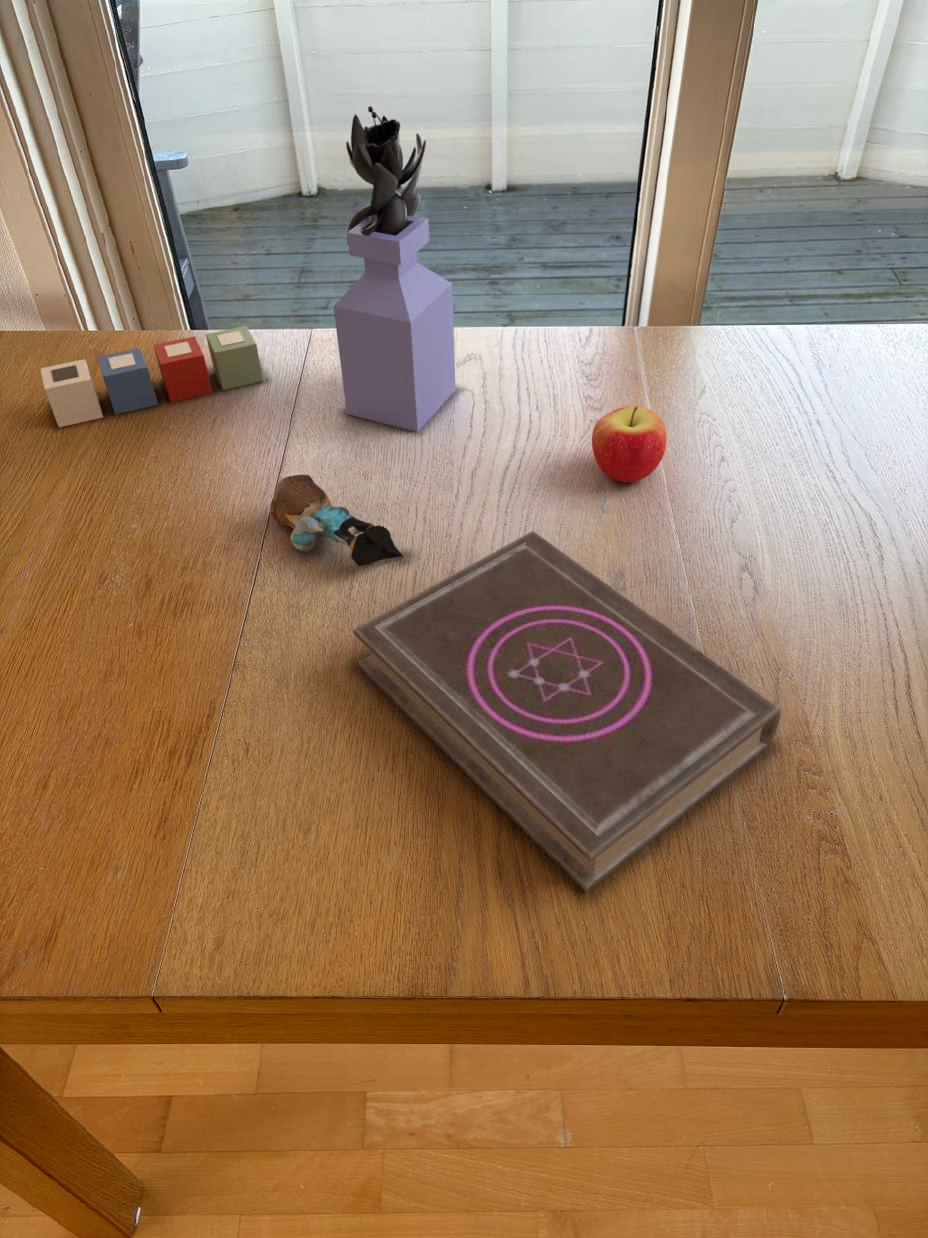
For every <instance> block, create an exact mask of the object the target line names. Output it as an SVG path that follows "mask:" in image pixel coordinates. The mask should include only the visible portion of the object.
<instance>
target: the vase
mask: <svg viewBox="0 0 928 1238" xmlns="http://www.w3.org/2000/svg"><path fill="white" fill-rule="evenodd" d="M367 108H368V109H367V111H368V113H370V114H371V118H372V119H373V122H374V124H373V125H371V126H369V127H368V126H363V125H362V123H361V120H360V119H359V118H360V117H359V116H358V115H357V114H356V113H355V114H354V116H353V118H352V124H351V130H350V131H351V132H350V143H349V140H347V141H346V143H345V147H346V151H347V154H348V161H349V164H350V165H351V167H352V168H353V169H354V170H355V172H356V175H358V176H359V177H360V178H361V179H362V180H363V181H364V182H366V183H368V184H370V185H372V192H371V194H372V195H371V200H370V203H369V204H368V205H366V206H364V207H362V208H361V209H359V210H357V212H355V214H354V215H353V216H352V218H351V220H350V222H349V224H348V226H347V227H348V229H347V233H346V238H347V239H346V243H347V245H348V251H349V252H348V253H349V256H351V257H356V258H362V259H363V263H364V271H365V272H364V273H363V274H362V275H361V277H359V279H358V280H356V281H355V283H354V284H353V285H352V286H351V287H350V288H349V289H348V290H347V291H346V292H345V293H344V294H343V295H342V296H341V298H340V299H338V301H336V303H335V304H334V305H333V314H334V322H335V323H334V324H335V328H336V337H337V346H338V347H337V348H338V354H339V360H340V361H339V362H340V369H341V378H342V384H343V395H344V402H345V403H344V404H345V410H346V411H345V412H346V415H349V416H354V417H357V418H360V419H361V418H362V419H365V420H369V421H373V422H377V423H381V424H385V425H389V426H392V427H397V428H400V429H404V430H408V431H411V432H417V433H418V432H419V431H420V430H422V429H423V427H424V426H425V425H426V424H427V422H429V420H430V419H431V418H432V417H433V416H434V415H435V414H436V413H437V411H438V410H439V409H440V408H441V407H443V405H444V404H445V403H446V401H447V400H449V398H450V397H451V396H452V395H453V394H454V392H456V390H457V389H456V388H457V387H456V359H455V358H456V356H455V355H456V354H455V327H454V326H455V325H454V295H453V294H454V293H453V283H452V282H451V281H449V280H447V279H446V278H444V277H442V276H441V275H439V274H437V273H436V272H434V271H433V270H431V269H430V268H427V267H426V266H424V265H422V264H421V263H419V261H418V260H419V259H418V252H419V251H421V249H422V248H423V247H425V245H427V244H428V243H429V242H430V225H429V224H430V223H429V218H427V217H422V216H421V217H420V216H416V212H417V210H418V209H419V207H420V203H421V198H422V197H421V194H418V193H415V191H416V189H417V187H418V184H419V181H420V177H421V174H422V169H423V166H424V165H423V164H424V156H425V152H426V149H427V140H426V139H424V141H422V137H421V136H420V134H419V133H416V134H415V139H416V146H414V147H413V149H412V152H411V155H410V156H409V159H408V161H407V163H406V164H405V166H404V156H403V150H402V147H401V144H400V141H401V140H400V139H401V137H400V136H401V123H400V121H397V120H396V119H395V118H394V119H393V118H392V119H390V120H389V119H388V118H387V117H386V116H385V114H383V116H382V117H380V116H379V115H378V114H377V112H376V111H374V108H373V107H372V106H368V107H367ZM376 118H377V119H378V122H379V123H378V124H377V123H376ZM405 184H406V185H405ZM402 185H405V187H404V188H403V186H402ZM401 188H403V190H402V192H401V194H400V192H399V191H397V190H400V189H401Z"/></svg>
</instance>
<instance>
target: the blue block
mask: <svg viewBox="0 0 928 1238" xmlns="http://www.w3.org/2000/svg"><path fill="white" fill-rule="evenodd" d="M96 358H97V360H98V365H99V369H100V371H101V372H100V373H101V376H102V379H103V382H104V384H105V385H104V386H105V388H106V391H107V394H108V398H109V400H110V403H111V406H112V410H113V413H114V415H120V414H124V413H128V412H129V413H130V412H133V411H138V410H142V409H147V408H152V407H156V406H158V405H159V402H158V399H157V396H156V392H155V388H154V385H153V381H152V378H151V375H150V371H149V368H148V365H147V363H146V359H145V355H144V354H143V351H142V348H141V347H137V348H131V349H128V350H122V351H119V352H112V353H108V354H104V355H99V356H97V357H96Z"/></svg>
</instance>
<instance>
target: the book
mask: <svg viewBox="0 0 928 1238" xmlns="http://www.w3.org/2000/svg"><path fill="white" fill-rule="evenodd" d="M352 634H353V635H354V636H355V637H356V638H357V639H358V640H359V641H360V642H361V643H362V644H364V645H365V647H367V648H368V649H369V650H370V654H369V655H368V656H366V657H364V658H363V659H360V660H359V661H358V662H357V666H358V667H359V669H361V670H362V671H363V673H364V674H366V676H368V677H369V678H370V679H371V680H372V681H373V682H374V683H375V684H376V685H377V686H378V687H379V688H380V689H381V691H383V692H384V693H385V694H386V696H388V697H389V698H390V699H391V700H392V701H393V702H394V703H395V704H396V705H397V706H398V707H399V708H400V709H401V710H402V711H403V712H404V713H405V714H406V715H407V716H408V717H409V718H410V719H411V720H412V721H413V722H414V723H415V724H416V725H417V726H418V727H419V728H420V729H421V730H422V731H423V732H424V733H425V734H426V735H428V737H429V738H430V739H431V740H432V741H433V742H434V743H435V744H436V745H437V746H438V747H440V749H441V750H442V751H443V752H445V754H446V755H447V756H449V758H450V759H451V760H452V761H453V762H454V763H455V764H456V765H457V766H459V768H460V769H461V770H462V771H463V772H464V773H466V775H467V776H469V777H470V779H471V780H473V782H474V783H475V784H476V785H477V786H479V787H480V789H481V790H482V791H484V792H485V794H486V795H488V796H489V797H490V799H491V800H493V802H495V803H496V805H498V807H500V809H502V810H503V811H504V812H505V814H506V815H508V816H509V818H510V819H512V820H513V822H514V823H516V824H517V825H518V826H519V828H521V829H522V830H523V831H524V832H525V833H526V835H528V836H529V837H530V839H532V840H533V841H534V843H536V844H537V846H539V847H540V848H541V849H542V850H543V851H544V852H545V854H547V855H548V856H549V857H550V858H551V859H552V860H553V862H555V864H557V865H558V866H559V867H560V868H561V869H562V870H563V871H564V872H565V873H566V874H567V875H568V876H569V877H570V878H571V879H572V881H574V882H575V883H576V884H577V885H578V886H579V887H580V888H581V889H582V890H583V891H584V892H585V893H587V892H589V891H590V890H592V888H594V887H595V886H596V885H598V883H600V882H601V881H602V880H604V879H606V877H607V876H609V875H610V874H611V873H612V872H614V871H615V870H616V869H618V868H619V867H620V866H621V865H623V864H624V863H625V862H626V861H627V860H629V859H630V858H632V857H633V856H634V855H635V854H636V853H637V852H638V851H640V850H642V848H644V847H645V846H646V845H647V844H649V843H651V841H652V840H653V839H655V838H656V837H657V836H659V835H660V834H661V833H663V831H664V830H666V829H668V828H669V827H670V826H671V825H672V824H674V823H675V822H676V821H677V820H679V819H680V818H681V817H682V816H684V815H685V814H686V813H687V812H689V811H690V810H691V809H692V808H693V807H695V806H696V805H697V804H698V803H700V802H701V801H703V800H704V799H705V798H706V797H707V796H709V795H710V794H711V793H712V792H714V791H715V790H717V788H719V787H720V786H721V785H722V784H724V783H725V782H726V781H727V780H728V779H730V778H731V777H732V776H733V775H735V774H736V773H737V772H738V771H740V770H741V769H742V768H743V767H745V766H746V765H747V764H748V763H749V762H751V761H752V760H754V759H755V758H756V757H757V756H758V755H760V754H761V753H762V752H763V751H764V750H766V749H767V748H768V747H770V745H771V742H772V740H773V739H774V737H775V734H776V732H777V730H778V727H779V725H780V720H781V717H782V715H781V713H782V710H781V709H782V708H781V707H779V706H778V705H777V704H775V703H774V702H773V701H771V700H769V699H768V698H767V697H765V696H764V695H763V694H762V693H760V692H758V691H757V690H756V689H755V688H753V687H752V686H750V685H749V684H747V683H746V682H744V681H743V680H742V679H740V678H739V677H738V676H736V675H735V674H733V673H732V672H730V670H728V669H726V668H725V667H724V666H722V665H721V664H720V663H718V662H717V661H715V660H714V659H713V658H711V657H710V656H709V655H707V654H706V653H704V652H703V651H701V650H700V649H699V648H698V647H696V646H695V645H693V644H692V643H690V642H689V641H687V640H686V639H685V638H683V637H682V636H680V635H679V634H678V633H676V631H673V630H672V628H669V627H668V626H667V625H666V624H664V623H662V622H661V621H659V620H658V618H657V619H656V617H654V616H652V615H651V614H650V613H648V612H647V611H646V610H644V609H643V608H642V607H640V605H638V604H636V603H635V602H633V601H632V600H631V599H629V598H628V597H626V596H625V595H624V594H622V593H621V592H619V591H618V590H617V589H615V588H614V587H613V586H611V585H610V584H608V583H607V582H605V581H604V580H602V579H601V578H600V577H599V576H597V575H595V574H594V573H593V572H592V571H590V570H588V569H587V568H586V567H585V566H583V565H582V564H580V563H579V562H578V561H576V560H575V559H573V558H572V557H571V556H570V555H568V554H567V553H565V552H564V551H562V550H561V549H559V548H558V547H557V546H555V545H554V544H552V543H551V542H550V541H549V540H547V539H546V538H544V537H543V536H541V534H539V533H538V532H536V531H534V530H532V531H530V532H528V533H526V534H525V535H523V536H520V537H519V538H517V539H515V540H513V541H511V542H510V543H508V544H506V545H504V546H502V547H500V548H499V549H497V550H495V551H493V552H492V553H490V554H488V555H486V556H485V557H483V558H481V559H479V560H477V561H475V562H473V563H472V564H470V565H468V566H466V567H464V568H463V569H461V570H459V571H457V572H456V573H453V574H452V575H450V576H448V577H446V578H444V579H442V580H441V581H439V582H437V583H435V584H434V585H432V586H430V587H428V588H426V589H424V590H423V591H420V592H419V593H417V594H415V595H413V596H412V597H410V598H408V599H406V600H404V601H402V602H400V603H399V604H397V605H395V606H394V607H391V608H390V609H388V610H386V611H384V612H383V613H381V614H379V615H377V616H375V617H374V618H372V619H370V620H368V621H366V622H364V623H363V624H361V625H359V626H358V627H356V628H354V629H352Z"/></svg>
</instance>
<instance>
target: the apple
mask: <svg viewBox="0 0 928 1238" xmlns="http://www.w3.org/2000/svg"><path fill="white" fill-rule="evenodd" d="M667 441H668V440H667V430H666V426H665V424H664V421H663V420H662V418H661V417H660V415H659V413H656V412H655V411H654V410H652V409H649V408H647V407H643V406H638V405H626V406H622V407H619V408H616V409H614V410H612V411H610V412H608V413H606V414H605V415H603V416H601V418H599V419H598V420H597V421H596V422H595V425H594V427H593V429H592V434H591V449H592V453H593V456H594V459H595V462H596V464H597V466H598V468H599V469H600V471H601V472H602V473H603V474H604V475H605V476H607V477H608V478H610V479H612V480H614V481H617V482H618V481H619V482H620V483H621V482H622V483H635V482H639V481H641V480H644V479H645V478H647V477H648V476H650V475H651V474H652V473H653V472H654V471H656V469H657V468H658V466H659V465H660V464H661V462H662V460H663V458H664V455H665V452H666V448H667Z"/></svg>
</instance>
